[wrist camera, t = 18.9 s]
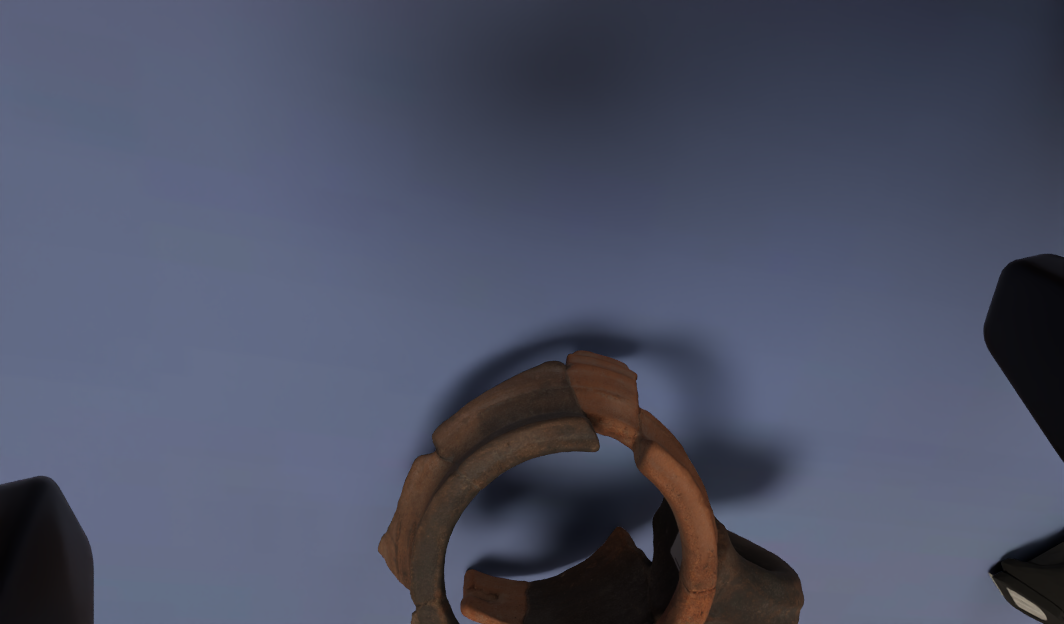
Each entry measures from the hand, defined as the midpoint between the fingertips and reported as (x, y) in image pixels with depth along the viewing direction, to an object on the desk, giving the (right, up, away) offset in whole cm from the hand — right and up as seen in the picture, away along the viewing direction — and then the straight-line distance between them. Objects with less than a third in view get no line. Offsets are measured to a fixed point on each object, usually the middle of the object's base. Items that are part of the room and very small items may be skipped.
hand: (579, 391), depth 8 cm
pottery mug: (+1, -4, +19) cm, 19 cm away
